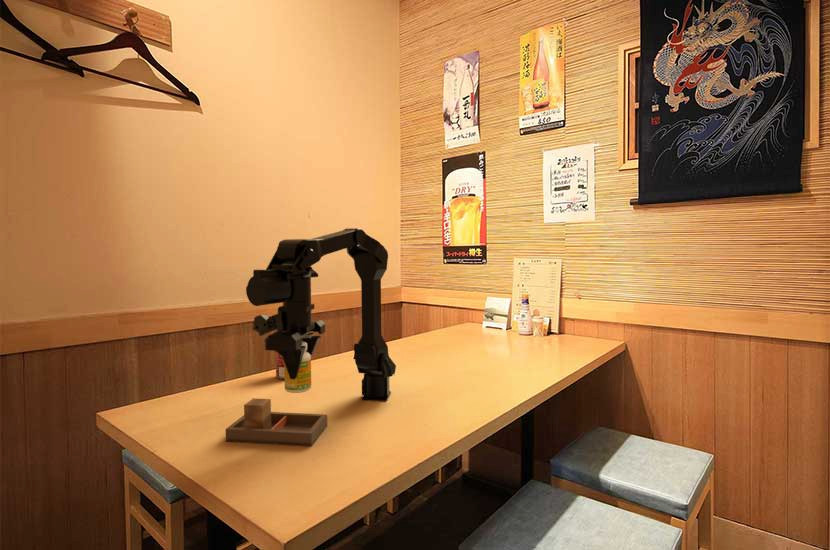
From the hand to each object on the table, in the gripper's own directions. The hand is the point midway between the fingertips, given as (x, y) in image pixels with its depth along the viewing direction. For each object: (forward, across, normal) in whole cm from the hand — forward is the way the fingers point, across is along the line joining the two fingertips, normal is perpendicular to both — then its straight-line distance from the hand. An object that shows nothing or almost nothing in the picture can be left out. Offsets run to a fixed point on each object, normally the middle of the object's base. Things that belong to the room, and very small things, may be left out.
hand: (298, 374), depth 94 cm
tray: (+13, 0, -4) cm, 14 cm away
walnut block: (+12, 0, -9) cm, 15 cm away
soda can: (+13, -39, -18) cm, 45 cm away
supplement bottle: (+3, 0, 0) cm, 3 cm away
